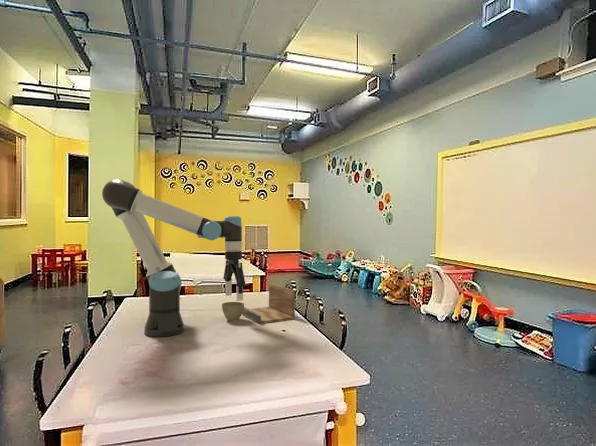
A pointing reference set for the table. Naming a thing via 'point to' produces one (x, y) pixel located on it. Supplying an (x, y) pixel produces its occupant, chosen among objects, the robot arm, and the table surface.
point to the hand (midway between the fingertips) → (234, 298)
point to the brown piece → (274, 306)
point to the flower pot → (232, 310)
